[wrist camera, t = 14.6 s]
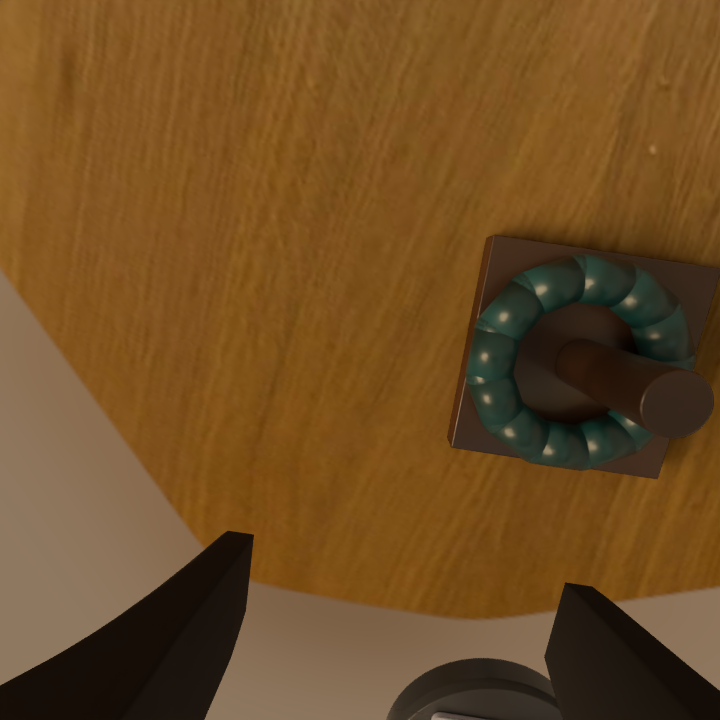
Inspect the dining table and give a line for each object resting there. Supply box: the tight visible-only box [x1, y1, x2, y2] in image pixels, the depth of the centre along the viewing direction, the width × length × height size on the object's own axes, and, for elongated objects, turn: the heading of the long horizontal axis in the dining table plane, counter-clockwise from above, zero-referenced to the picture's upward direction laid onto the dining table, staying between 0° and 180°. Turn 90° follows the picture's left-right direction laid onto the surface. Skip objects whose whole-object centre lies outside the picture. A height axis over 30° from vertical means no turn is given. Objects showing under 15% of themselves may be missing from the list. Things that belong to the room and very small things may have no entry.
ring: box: [465, 253, 696, 471], centre depth 17 cm, size 8×8×2 cm
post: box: [447, 235, 720, 479], centre depth 16 cm, size 9×9×7 cm
